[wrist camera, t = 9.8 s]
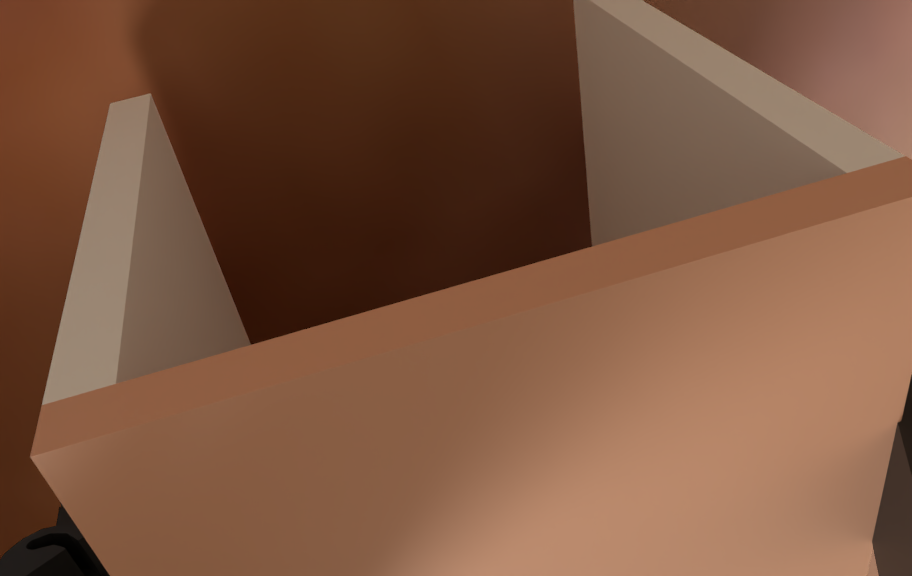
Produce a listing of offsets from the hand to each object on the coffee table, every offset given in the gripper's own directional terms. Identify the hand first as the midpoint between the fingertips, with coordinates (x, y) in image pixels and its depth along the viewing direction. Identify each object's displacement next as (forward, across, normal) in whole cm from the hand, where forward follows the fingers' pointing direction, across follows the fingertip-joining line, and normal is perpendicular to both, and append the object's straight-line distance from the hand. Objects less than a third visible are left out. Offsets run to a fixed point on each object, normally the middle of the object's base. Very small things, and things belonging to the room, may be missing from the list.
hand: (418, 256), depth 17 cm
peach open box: (0, 0, 0) cm, 0 cm away
